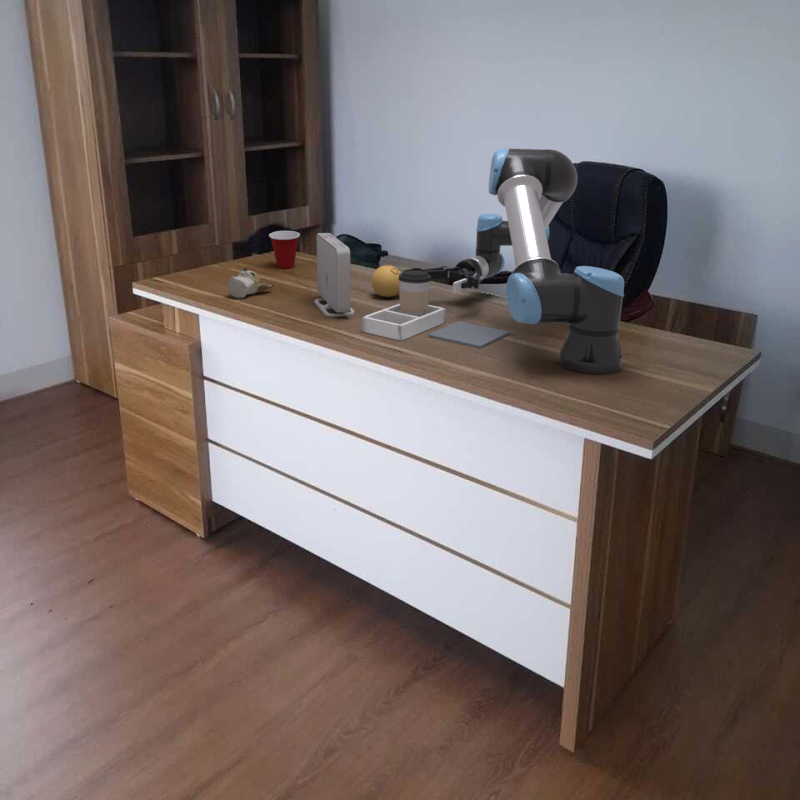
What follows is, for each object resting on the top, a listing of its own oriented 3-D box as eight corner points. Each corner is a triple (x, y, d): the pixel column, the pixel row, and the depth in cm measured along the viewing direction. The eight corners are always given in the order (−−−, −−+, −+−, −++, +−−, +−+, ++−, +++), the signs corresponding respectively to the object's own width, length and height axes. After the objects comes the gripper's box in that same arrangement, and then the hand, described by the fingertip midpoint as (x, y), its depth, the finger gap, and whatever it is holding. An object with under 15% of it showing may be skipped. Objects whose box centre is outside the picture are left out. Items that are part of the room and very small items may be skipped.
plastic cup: (265, 269, 287) (264, 235, 282) (275, 263, 297) (274, 230, 292) (295, 271, 285) (295, 237, 281) (304, 265, 295) (303, 231, 291)
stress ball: (392, 302, 250) (393, 270, 246) (365, 297, 254) (365, 265, 250) (408, 295, 258) (409, 264, 254) (381, 291, 262) (382, 260, 258)
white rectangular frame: (445, 322, 231) (446, 308, 230) (401, 340, 214) (401, 326, 213) (407, 314, 238) (407, 300, 236) (361, 331, 221) (361, 317, 220)
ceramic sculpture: (217, 268, 248) (247, 262, 261) (218, 297, 251) (247, 289, 264) (246, 273, 244) (275, 267, 256) (246, 302, 246) (275, 294, 259)
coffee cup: (426, 328, 225) (428, 275, 219) (394, 326, 226) (395, 272, 221) (432, 320, 233) (434, 267, 227) (400, 317, 234) (402, 265, 229)
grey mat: (509, 333, 222) (509, 331, 222) (480, 348, 210) (480, 346, 210) (458, 323, 230) (459, 321, 230) (427, 336, 218) (428, 334, 218)
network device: (310, 297, 253) (309, 232, 245) (337, 296, 255) (337, 231, 248) (329, 320, 230) (328, 249, 223) (359, 318, 233) (359, 248, 225)
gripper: (506, 289, 245) (470, 304, 229) (436, 276, 258) (397, 289, 242) (508, 264, 242) (472, 277, 226) (437, 252, 255) (398, 264, 239)
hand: (433, 283), depth 234 cm, fingers open, 13 cm apart
